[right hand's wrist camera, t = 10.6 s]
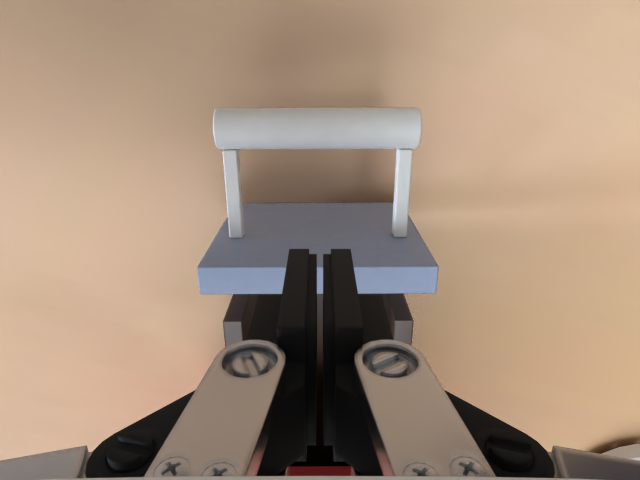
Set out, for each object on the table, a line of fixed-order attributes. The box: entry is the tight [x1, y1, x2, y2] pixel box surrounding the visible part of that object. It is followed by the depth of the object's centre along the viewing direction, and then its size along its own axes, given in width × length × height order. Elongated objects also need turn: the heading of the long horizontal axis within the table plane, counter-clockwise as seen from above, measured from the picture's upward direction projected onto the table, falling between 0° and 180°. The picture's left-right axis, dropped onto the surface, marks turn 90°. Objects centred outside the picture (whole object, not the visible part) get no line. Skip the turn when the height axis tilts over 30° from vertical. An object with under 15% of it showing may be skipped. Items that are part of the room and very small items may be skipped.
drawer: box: [197, 107, 439, 466], centre depth 24 cm, size 26×9×9 cm, turn 0°
